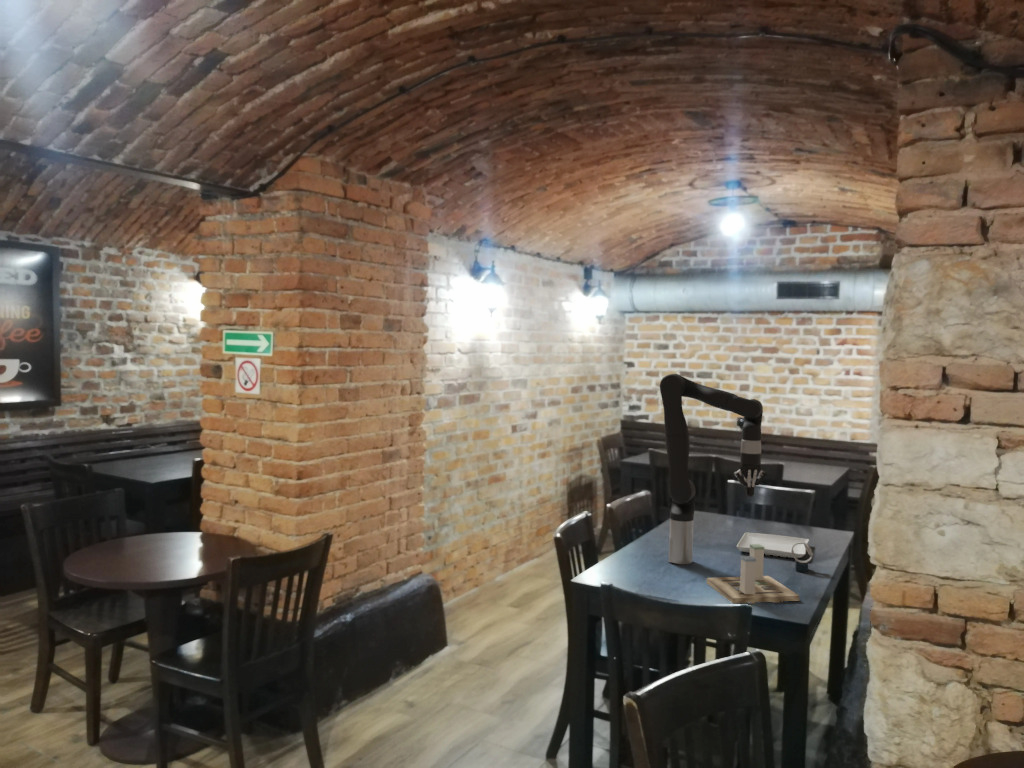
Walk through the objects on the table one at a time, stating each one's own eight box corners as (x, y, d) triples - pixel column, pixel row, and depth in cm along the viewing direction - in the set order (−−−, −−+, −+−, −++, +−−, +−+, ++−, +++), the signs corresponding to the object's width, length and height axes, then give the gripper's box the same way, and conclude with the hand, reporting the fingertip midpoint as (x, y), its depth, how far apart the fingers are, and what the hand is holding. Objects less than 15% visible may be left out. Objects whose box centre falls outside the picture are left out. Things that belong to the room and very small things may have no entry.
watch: (813, 573, 292) (814, 545, 291) (791, 571, 294) (792, 543, 294) (812, 569, 297) (813, 541, 296) (790, 566, 300) (791, 539, 299)
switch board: (732, 604, 256) (732, 597, 256) (706, 583, 278) (706, 577, 278) (799, 601, 260) (799, 594, 260) (768, 581, 281) (768, 574, 281)
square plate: (809, 546, 331) (809, 537, 331) (804, 563, 306) (805, 553, 306) (744, 539, 343) (745, 530, 342) (735, 554, 318) (735, 545, 317)
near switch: (744, 594, 259) (745, 559, 258) (739, 590, 263) (740, 556, 262) (755, 594, 259) (756, 559, 258) (749, 589, 263) (750, 555, 263)
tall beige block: (753, 580, 274) (754, 547, 273) (748, 576, 278) (749, 544, 277) (763, 580, 274) (764, 547, 274) (758, 576, 279) (759, 544, 278)
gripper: (762, 449, 296) (761, 494, 297) (730, 450, 294) (728, 494, 295) (771, 452, 289) (770, 498, 290) (738, 453, 287) (737, 498, 288)
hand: (749, 496), depth 292 cm, fingers closed
